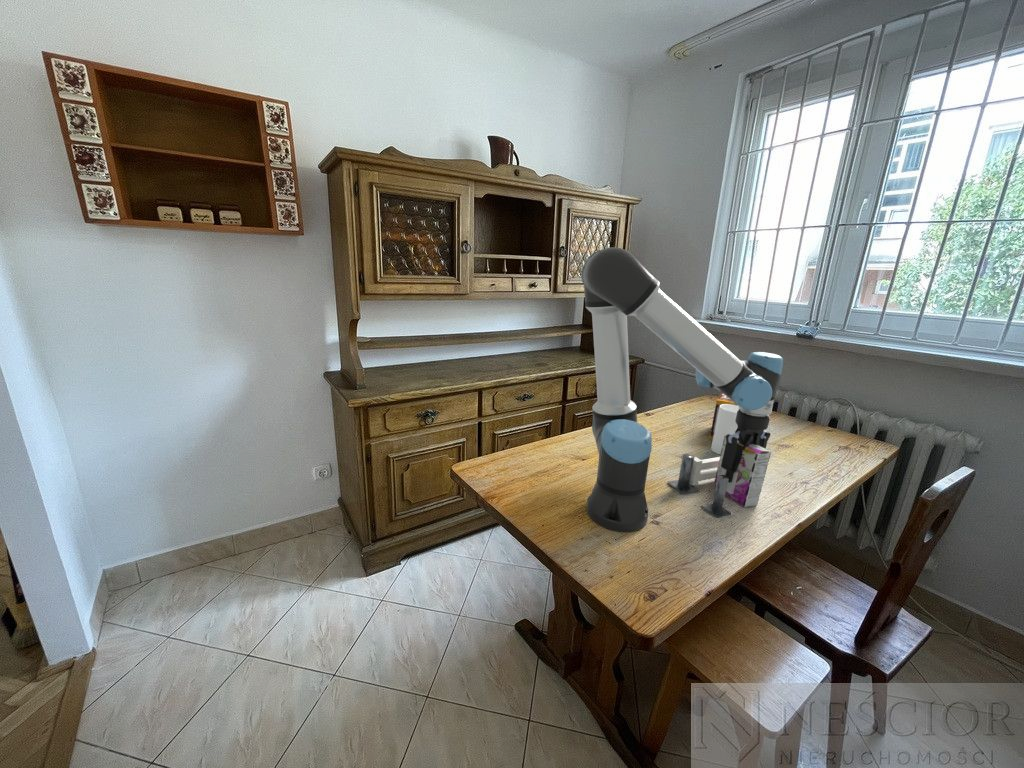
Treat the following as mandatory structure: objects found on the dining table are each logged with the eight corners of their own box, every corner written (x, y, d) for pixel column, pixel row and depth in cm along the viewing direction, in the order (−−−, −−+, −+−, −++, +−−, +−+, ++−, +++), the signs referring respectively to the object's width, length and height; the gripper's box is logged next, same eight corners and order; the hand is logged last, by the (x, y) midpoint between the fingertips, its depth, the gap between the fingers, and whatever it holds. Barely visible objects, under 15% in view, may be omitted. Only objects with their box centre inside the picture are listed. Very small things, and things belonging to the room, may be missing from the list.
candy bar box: (712, 486, 116) (723, 434, 111) (725, 484, 118) (737, 433, 113) (743, 508, 106) (757, 452, 101) (758, 506, 107) (772, 450, 103)
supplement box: (743, 432, 156) (751, 395, 152) (740, 446, 144) (749, 406, 139) (713, 426, 161) (721, 389, 157) (708, 439, 149) (716, 399, 144)
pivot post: (682, 494, 111) (688, 462, 109) (667, 483, 117) (672, 452, 114) (698, 491, 113) (705, 459, 111) (683, 480, 119) (689, 450, 116)
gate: (691, 485, 114) (696, 461, 112) (685, 481, 117) (690, 458, 114) (732, 477, 120) (737, 454, 118) (725, 473, 122) (730, 451, 120)
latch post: (716, 518, 101) (724, 483, 98) (701, 507, 106) (708, 473, 103) (731, 515, 103) (739, 480, 100) (715, 504, 108) (722, 471, 105)
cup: (740, 457, 135) (750, 413, 130) (714, 454, 136) (723, 411, 132) (732, 447, 143) (742, 405, 138) (708, 444, 144) (716, 403, 139)
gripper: (740, 420, 98) (722, 502, 105) (792, 413, 104) (771, 491, 111) (716, 409, 105) (700, 487, 111) (765, 404, 111) (748, 478, 118)
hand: (735, 489), depth 111 cm, fingers closed on candy bar box, 5 cm apart
